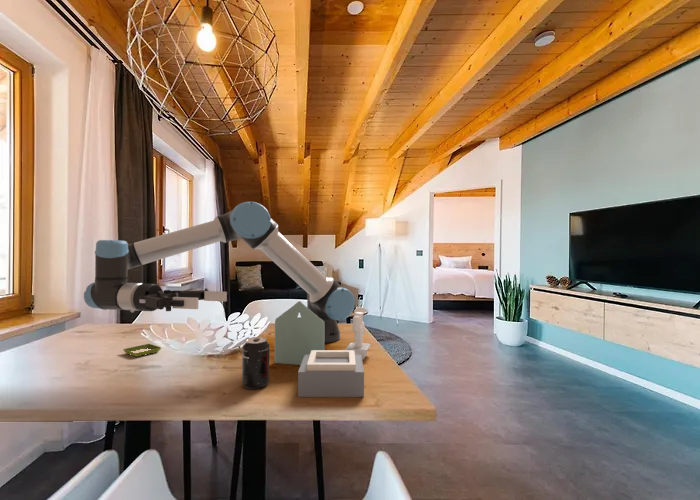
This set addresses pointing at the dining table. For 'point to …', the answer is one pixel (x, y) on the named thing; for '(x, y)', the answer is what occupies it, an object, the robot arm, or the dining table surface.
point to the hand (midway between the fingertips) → (213, 299)
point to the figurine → (358, 336)
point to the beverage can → (255, 363)
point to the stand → (331, 374)
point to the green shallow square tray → (149, 346)
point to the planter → (298, 334)
